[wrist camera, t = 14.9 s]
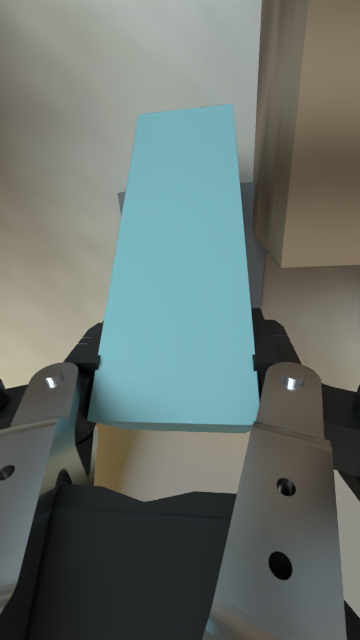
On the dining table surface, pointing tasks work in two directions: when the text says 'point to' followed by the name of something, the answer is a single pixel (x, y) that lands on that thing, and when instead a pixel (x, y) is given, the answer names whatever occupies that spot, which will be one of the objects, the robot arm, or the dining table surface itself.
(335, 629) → the robot arm
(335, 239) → the board
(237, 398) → the teal block
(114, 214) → the dining table surface
